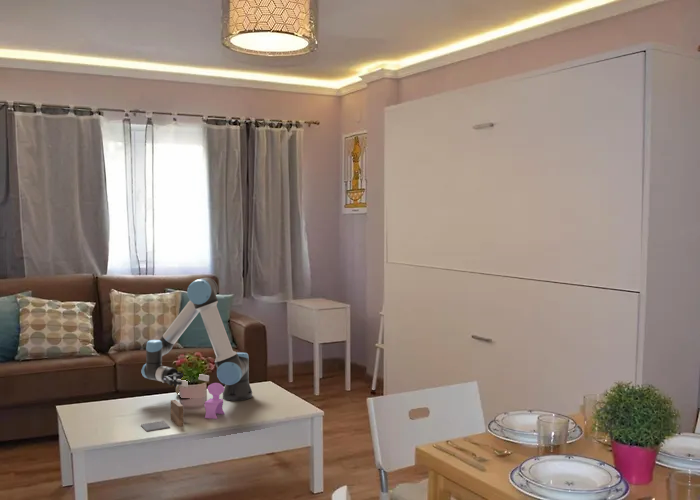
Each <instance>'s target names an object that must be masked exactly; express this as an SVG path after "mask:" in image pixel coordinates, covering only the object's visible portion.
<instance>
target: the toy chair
mask: <svg viewBox="0 0 700 500" xmlns="http://www.w3.org/2000/svg"><path fill="white" fill-rule="evenodd" d="M224 387H225V386H224V384H221V382H220V383H219V382H213V383H210V384H209V385H208V386H207V392H208V393H209V394H210V395H211V396H212V398H209V399H208V400H205V401H204V409H205V416H204V419H213V420H218V417H217V414H220V415H225V414H226V413H225V411H224V410H223V408H224V407H223V405H224V399H223V398H220V395H222V394H223V391H224Z"/></svg>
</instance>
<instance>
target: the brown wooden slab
mask: <svg viewBox="0 0 700 500" xmlns="http://www.w3.org/2000/svg"><path fill="white" fill-rule="evenodd" d="M170 421H172V422H173V423H174V424H175V425H176V426H178V427H184V405H183V404H181V402H179V401H178V400H176V399H171V400H170Z"/></svg>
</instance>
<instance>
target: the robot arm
mask: <svg viewBox="0 0 700 500" xmlns="http://www.w3.org/2000/svg"><path fill="white" fill-rule="evenodd" d="M218 291H219V287H218V284H217V282H216V281H215V280H214V279H213V278H210V277H202V278H198V279H195V280H193V281H192V282H191V283H190V284H189V285H188V287H187V290H186V295H187V298H188V299H189V301H187V303H186V304H185V306H184V307H183V309H181V311H180V313H179V314H178V315H177V316H176V318H175V319H173V321H172V323H171V324H170V325H169V327H168V328H167V329H166V331H165V332H164V333H163V334H162V336H161V337H160V338H159V339H150V340H148V341H147V342H146V347H145V350H146V352H145V356H146V357H145V358H146V359H145V360H146V362H145V364H143V365H142V368H141V370H140V371H141V374H142V377H144V379H148V380H153V381H157V382H162V383H163V384H164V383H167V385H169V386H173V387H177V385H180V386H184V387H188V381H189V380H188V381H186V380H187V379H186V380H181V378H182V377H183V373H181V372H182V371H178V369H177V368H175V367H170V366H165V365H163V364H162V363H163V357H164V356H165V355H167V354H169V353H170V352H171V351H172V349H173V347H174V345H175V344H176V342H178V340H179V339H180V337H181V336H182V335H183V334H184V332H185V331H186V330H187V328H189V326H190V325H191V323H192V322H193V320H194V319H195V318H196V317H197V316H198V315H199V314H200V317H201V319H202V322H203V325H204V327H205V330H206V334H207V335H208V339H209V340H210V344H211V347H212V349H213V351H214V354H215V359H214V363H215V366H216V377H217V379H218V380H219V382H220V383H222V385H224V386H223V387H224V391H223V393H222V399H223V400H225V401H246V400H249V399H252V398H253V391H252V387H251V385H250V381H249V379H250V377H249V375H250V373H249V371H250V367H249V366H250V365H249V364H250V363H249V362H250V361H249V360H250V359H249V354H248V353H247V352H238V351H237V352H236V351H234V350H233V347H232V345H231V342H230V339H229V336H228V334H227V331H226V329H225V325H224V322H223V320H222V317H221V315H220V312H219V309H218V306H217V304H218V302H219V300H218V297H217V294H218ZM183 378H184V377H183ZM197 380H198V381H202V382H203V381H204V382H210V375H209V374H208V375H207V374H203V373H202V374H199V377H198V379H197Z"/></svg>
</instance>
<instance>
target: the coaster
mask: <svg viewBox="0 0 700 500" xmlns="http://www.w3.org/2000/svg"><path fill="white" fill-rule="evenodd" d="M140 426H141V428H143V429H144V430H145V431H146V432H153V431H159V430H165V429H171V426H170V425H169V424H168V423H167V422H165V421H164V420H160V421H155V422H154V421H153V422H146V423H141V424H140Z"/></svg>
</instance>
